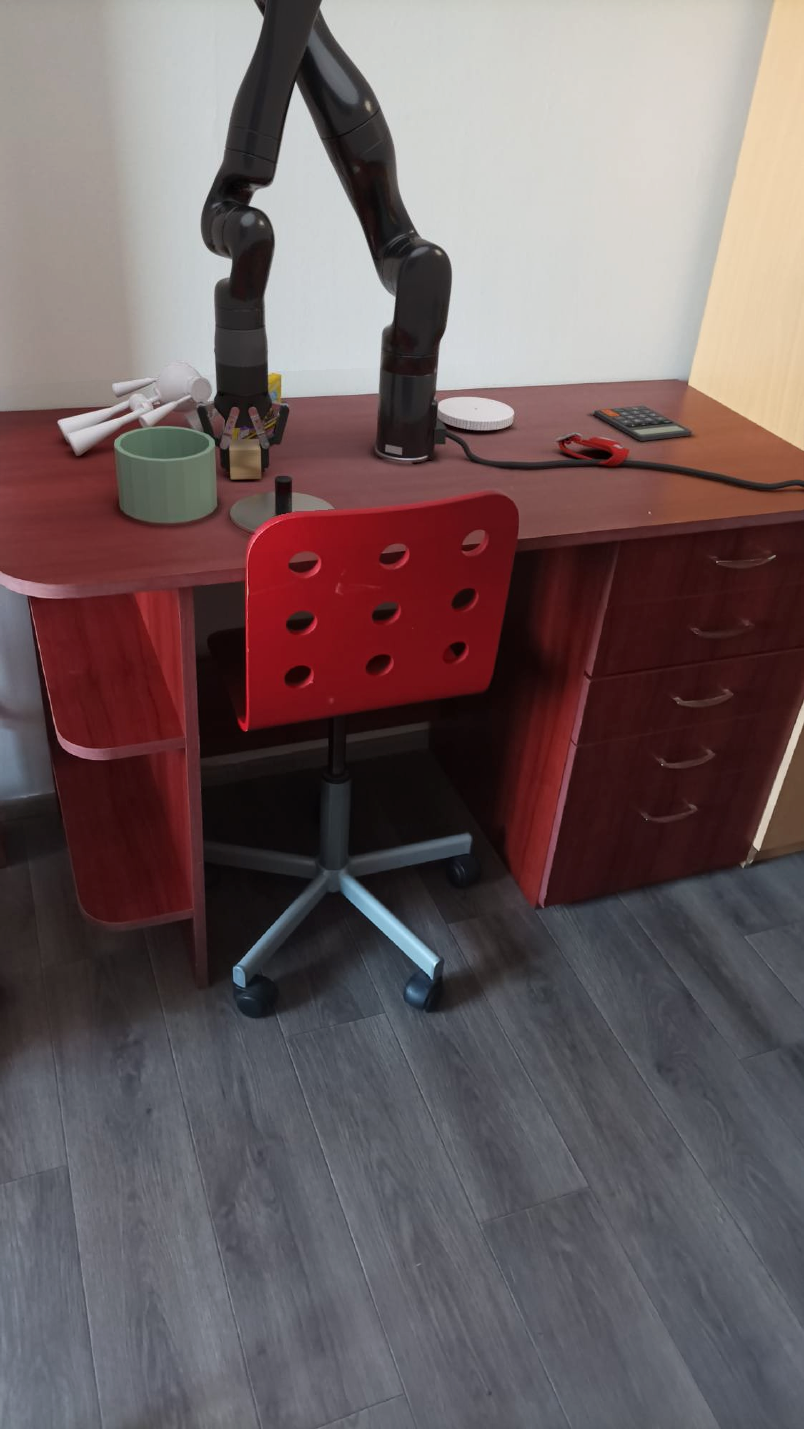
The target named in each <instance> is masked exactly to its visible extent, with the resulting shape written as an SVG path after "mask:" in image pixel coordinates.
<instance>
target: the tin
mask: <svg viewBox="0 0 804 1429" xmlns="http://www.w3.org/2000/svg"><path fill="white" fill-rule="evenodd" d="M113 448H114V449H113V450H114V459H115V470H116V471H115V472H116V482H117V494H118V503H119V508H120V512H123V513H124V515H127V516H129V517H131V518H133V519H136V520H139V521H144V522H148V523H157V524H176V523H186V522H191V521H196V520H199V519H203V518H204V517H206V516H208V515H210V514H212V513H213V512H214V511H215V509H216V508H217V507H218V493H217V492H218V490H217V488H218V487H217V467H216V466H217V464H216V462H217V461H216V446H215V441H214V439H213V438H212V437H210V436H209V435H208V434H205V433H204V431H202V432H200V431H198V430H194V429H191V428H188V427H182V426H169V425H160V426H159V425H158V426H152V427H146V428H143V427H142V428H136V429H131V430H129V431H127V432H124V433H121V434H120V435H119V436H118V437H117V438H115V439H114V444H113Z"/></svg>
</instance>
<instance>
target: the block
mask: <svg viewBox="0 0 804 1429" xmlns="http://www.w3.org/2000/svg"><path fill="white" fill-rule="evenodd" d="M229 458H230V472H229V477H230V480H261V479H262V472H261V449H260V440H259V438H249V439H230V441H229Z"/></svg>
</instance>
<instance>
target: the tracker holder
mask: <svg viewBox="0 0 804 1429" xmlns="http://www.w3.org/2000/svg"><path fill="white" fill-rule="evenodd" d="M582 436H583V435H582V434H581V433H578V432H572V433H567V434H563V435H560V436H559V437H558V438H555V442H556V443H558V447H559V449H560V450H561V451H563V452H565V453H566V454H568V455H569V456H572V457H574V458H577V459H579V460H582V459H594V457H589V456H586V455H584V454H580V453H578V452H574V451H572V450H571V449H569V448H568V447H566V445H571V444H572V442H573V443H575V444H577V445H580V446H583V447H587V448H591V449H594V450H595V449H596V450H599V451H604V452H608V453H609V454H610V455H611V456H610V457H609V458H607V459H608V460H606V461H600V462H599V464H600V465H599V466H606V467H610V468H611V467H617V465H619V464H620V463H622V462H623V461H624V460H626V459H627V457H628V456H629V454H630V449H629V448H626V447H623V446H622V444H621V443H620V442H619V441H616V440H614V439H613V438H608V437H603V436H602V437H600V436H598V437H597V436H593V437H590V438H589V439H582Z"/></svg>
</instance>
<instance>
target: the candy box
mask: <svg viewBox="0 0 804 1429" xmlns="http://www.w3.org/2000/svg"><path fill="white" fill-rule="evenodd" d="M268 391H269V395H270V397H271V399H272V400H273V401H276V402H280V403H281V402H282V374H279V373H275V372H272V373H270V374H268ZM276 418H277V417H275V416H274V410H273V409H272V408H271V409H270V410H269V412H268V413H267V414H266V416H265V417H264V419H263V420H262V422H263V425H264V428H265V430H267V429H268V428H270V427H271V426H273V425H275V422H276ZM256 435H257V433H256V430H255V428H248V427H241V428H234V430H233V433H232V436H231V438H230V439H252V437H255V436H256Z"/></svg>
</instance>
